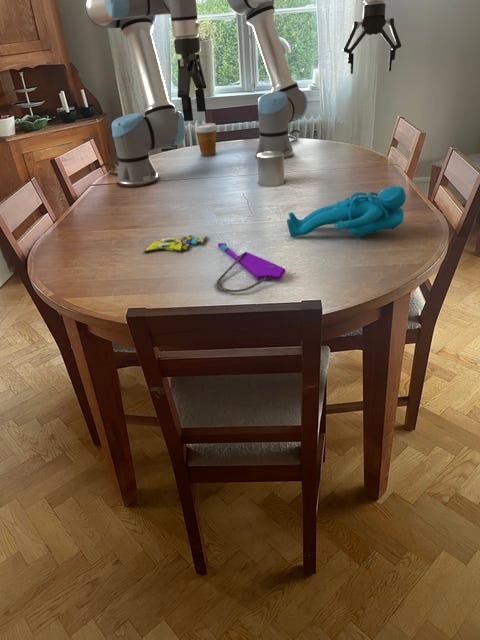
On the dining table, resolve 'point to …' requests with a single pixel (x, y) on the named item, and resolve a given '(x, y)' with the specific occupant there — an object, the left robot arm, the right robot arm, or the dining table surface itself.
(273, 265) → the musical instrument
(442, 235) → the dining table surface
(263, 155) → the canister
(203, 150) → the disposable coffee cup
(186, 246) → the toy
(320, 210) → the toy
